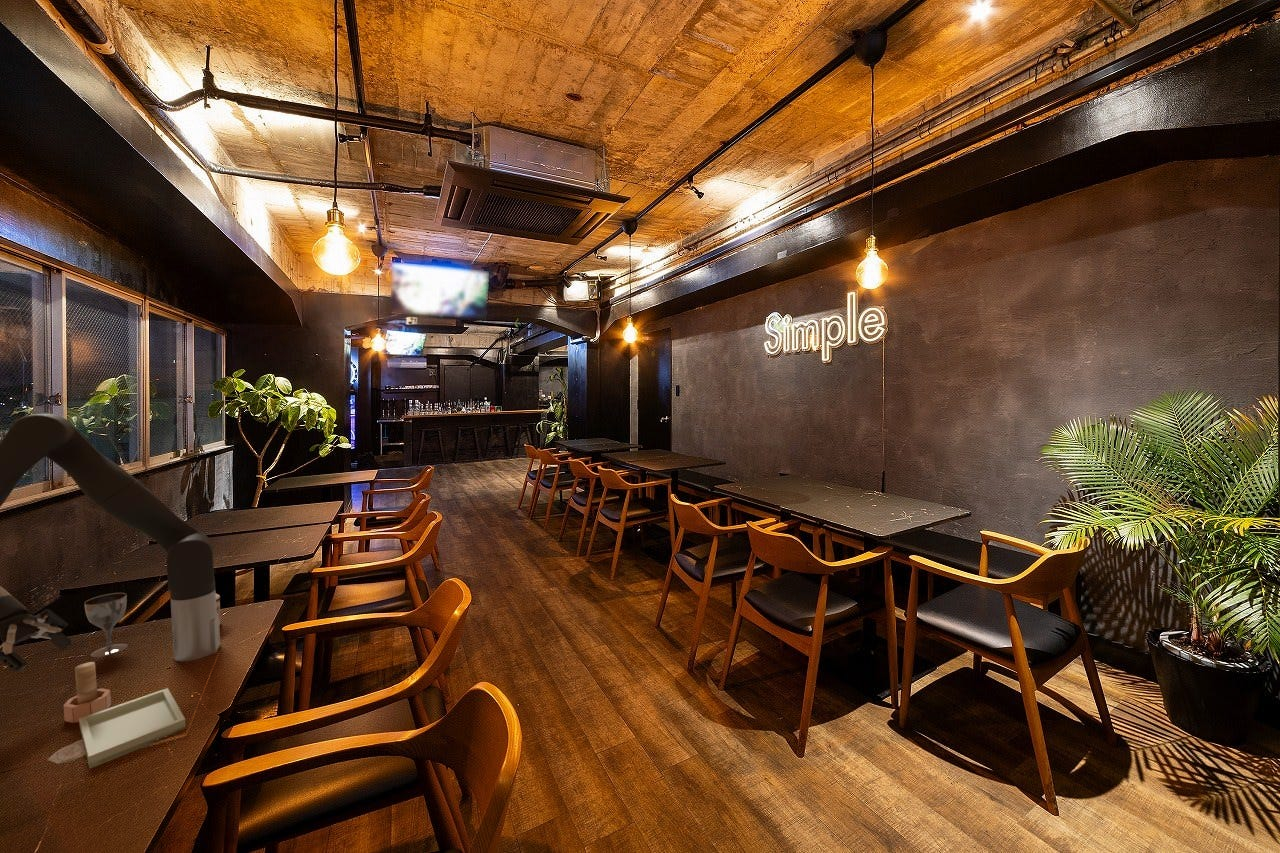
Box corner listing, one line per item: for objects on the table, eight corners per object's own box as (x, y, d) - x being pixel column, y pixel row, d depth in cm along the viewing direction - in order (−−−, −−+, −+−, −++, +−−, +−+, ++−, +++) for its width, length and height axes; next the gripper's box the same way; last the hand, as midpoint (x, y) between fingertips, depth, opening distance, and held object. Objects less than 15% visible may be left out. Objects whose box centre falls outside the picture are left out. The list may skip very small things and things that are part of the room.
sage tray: (79, 729, 107) (79, 718, 107) (168, 697, 118) (167, 687, 118) (89, 768, 96) (88, 756, 96) (185, 730, 107) (185, 719, 107)
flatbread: (104, 733, 106) (104, 729, 106) (110, 749, 102) (110, 744, 101) (45, 756, 99) (44, 751, 99) (49, 774, 95) (48, 769, 95)
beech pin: (100, 706, 114) (97, 660, 113) (95, 713, 111) (91, 666, 110) (81, 711, 112) (78, 664, 111) (76, 718, 110) (72, 670, 109)
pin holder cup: (114, 702, 116) (113, 685, 116) (104, 717, 111) (102, 700, 110) (73, 711, 113) (72, 694, 113) (60, 728, 107) (59, 710, 107)
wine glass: (126, 640, 144) (123, 590, 143) (132, 649, 140) (129, 597, 139) (86, 651, 138) (82, 599, 137) (90, 661, 133) (86, 607, 132)
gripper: (-45, 610, 102) (19, 663, 103) (37, 583, 116) (91, 630, 118) (-69, 635, 102) (-6, 688, 104) (15, 605, 116) (70, 652, 118)
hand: (46, 657), depth 111 cm, fingers open, 8 cm apart
